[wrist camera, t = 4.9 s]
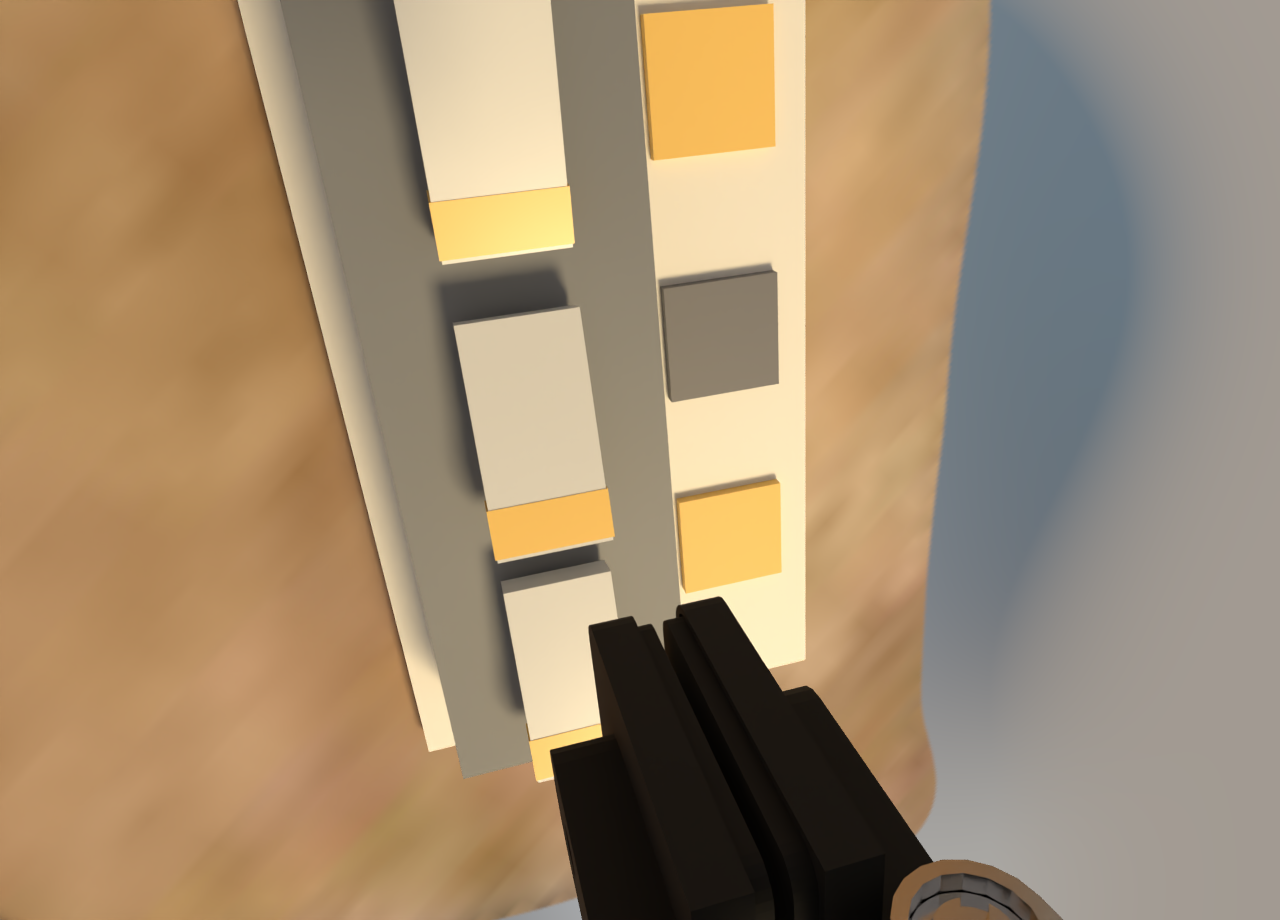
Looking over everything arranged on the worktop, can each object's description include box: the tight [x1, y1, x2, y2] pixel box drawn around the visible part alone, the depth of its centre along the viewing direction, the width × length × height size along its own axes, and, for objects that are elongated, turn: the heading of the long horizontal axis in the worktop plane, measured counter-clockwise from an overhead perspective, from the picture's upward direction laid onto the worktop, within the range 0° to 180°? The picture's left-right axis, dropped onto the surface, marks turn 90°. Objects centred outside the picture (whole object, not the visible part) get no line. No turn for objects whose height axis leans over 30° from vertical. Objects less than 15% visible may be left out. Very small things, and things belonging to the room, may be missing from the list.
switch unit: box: [238, 0, 805, 779], centre depth 27 cm, size 30×16×6 cm, turn 5°
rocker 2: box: [501, 560, 618, 783], centre depth 26 cm, size 6×3×1 cm, turn 5°
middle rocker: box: [453, 305, 615, 564], centre depth 22 cm, size 6×3×1 cm, turn 5°
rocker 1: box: [394, 0, 575, 265], centre depth 19 cm, size 6×3×1 cm, turn 5°
